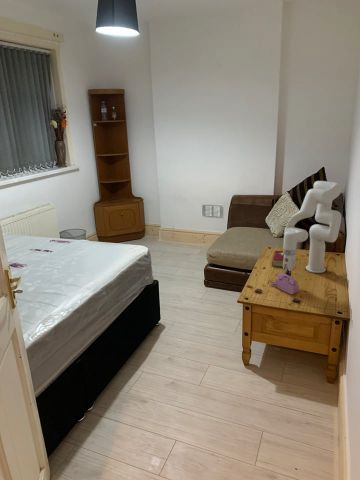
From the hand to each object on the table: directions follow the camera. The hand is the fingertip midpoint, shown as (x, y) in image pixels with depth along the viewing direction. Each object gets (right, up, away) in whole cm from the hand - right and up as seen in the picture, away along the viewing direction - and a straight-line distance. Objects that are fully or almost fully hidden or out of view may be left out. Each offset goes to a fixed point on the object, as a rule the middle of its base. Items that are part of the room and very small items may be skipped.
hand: (287, 278), depth 222 cm
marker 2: (-1, -11, -18) cm, 21 cm away
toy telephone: (-3, -6, -3) cm, 8 cm away
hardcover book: (+6, +9, +36) cm, 37 cm away
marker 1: (-20, -7, -5) cm, 22 cm away
